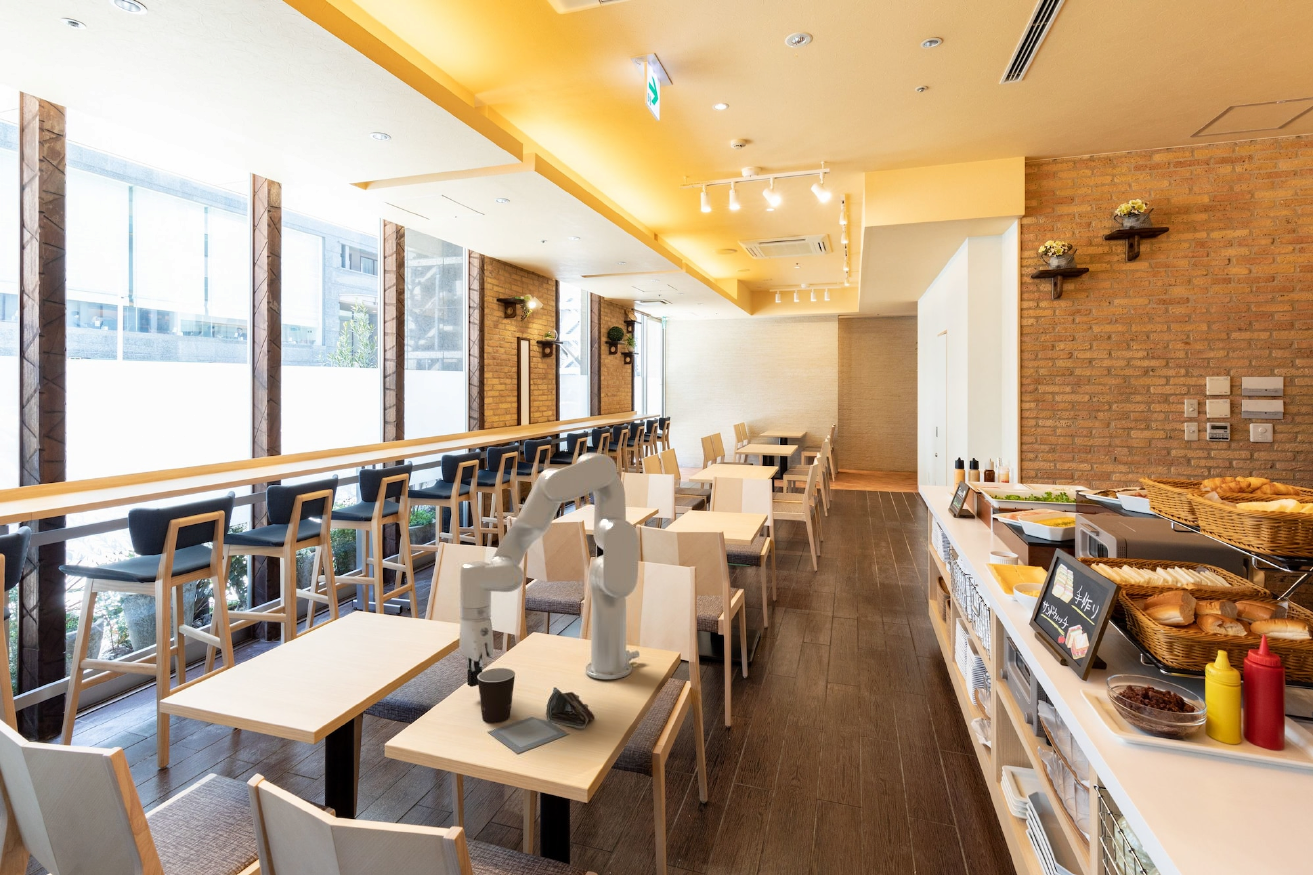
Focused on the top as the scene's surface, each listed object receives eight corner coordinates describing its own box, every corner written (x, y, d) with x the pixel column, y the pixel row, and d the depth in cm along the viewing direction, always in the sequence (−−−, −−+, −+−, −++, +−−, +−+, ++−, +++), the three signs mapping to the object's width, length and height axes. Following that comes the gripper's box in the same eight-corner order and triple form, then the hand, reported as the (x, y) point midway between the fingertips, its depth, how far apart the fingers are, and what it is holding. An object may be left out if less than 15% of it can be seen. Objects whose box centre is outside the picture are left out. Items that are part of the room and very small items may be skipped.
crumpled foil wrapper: (607, 718, 148) (582, 675, 154) (589, 722, 142) (564, 676, 148) (580, 744, 149) (557, 700, 156) (562, 749, 144) (538, 702, 150)
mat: (537, 714, 151) (537, 714, 151) (569, 734, 142) (569, 733, 142) (487, 732, 142) (487, 731, 142) (517, 754, 133) (517, 753, 133)
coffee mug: (505, 727, 145) (505, 683, 145) (470, 723, 147) (470, 680, 147) (526, 705, 156) (526, 665, 156) (493, 702, 158) (493, 662, 158)
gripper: (503, 615, 157) (502, 689, 157) (475, 603, 168) (474, 672, 168) (475, 621, 152) (474, 697, 152) (448, 608, 163) (447, 679, 163)
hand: (474, 684), depth 160 cm, fingers closed
